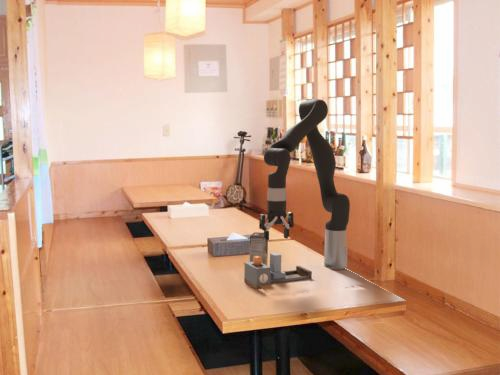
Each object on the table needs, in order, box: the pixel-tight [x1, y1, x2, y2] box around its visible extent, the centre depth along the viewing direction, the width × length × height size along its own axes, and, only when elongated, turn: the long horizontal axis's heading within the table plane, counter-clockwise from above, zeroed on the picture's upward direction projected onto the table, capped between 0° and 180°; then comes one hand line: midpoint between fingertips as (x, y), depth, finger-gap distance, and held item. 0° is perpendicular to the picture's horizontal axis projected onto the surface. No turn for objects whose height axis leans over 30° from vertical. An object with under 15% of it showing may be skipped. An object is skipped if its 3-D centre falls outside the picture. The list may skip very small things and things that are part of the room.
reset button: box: [253, 256, 262, 265], centre depth 255 cm, size 3×3×3 cm
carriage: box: [269, 252, 286, 280], centre depth 259 cm, size 5×8×10 cm, turn 25°
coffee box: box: [249, 231, 269, 266], centre depth 276 cm, size 9×6×16 cm
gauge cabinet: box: [243, 261, 271, 286], centre depth 255 cm, size 6×11×6 cm, turn 26°
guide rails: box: [269, 269, 310, 285], centre depth 261 cm, size 18×11×1 cm, turn 116°
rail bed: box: [243, 265, 313, 290], centre depth 260 cm, size 25×11×4 cm, turn 116°
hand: (276, 239), depth 257 cm, fingers open, 8 cm apart
